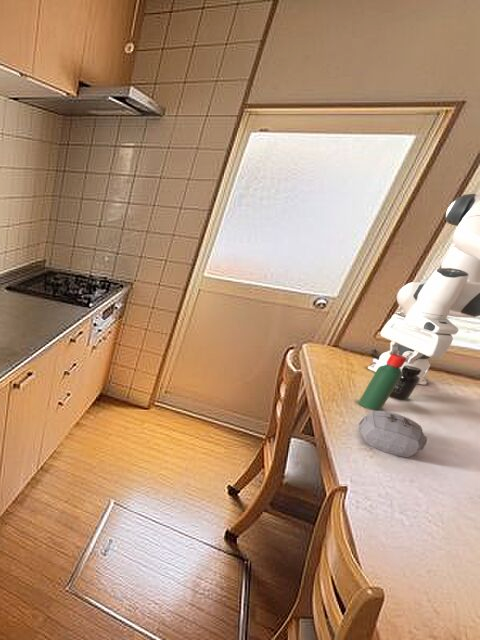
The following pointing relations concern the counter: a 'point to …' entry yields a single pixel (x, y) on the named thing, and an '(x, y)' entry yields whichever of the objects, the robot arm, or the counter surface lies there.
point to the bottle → (380, 387)
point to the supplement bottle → (406, 383)
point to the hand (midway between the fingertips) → (400, 358)
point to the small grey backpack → (392, 433)
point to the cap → (396, 360)
